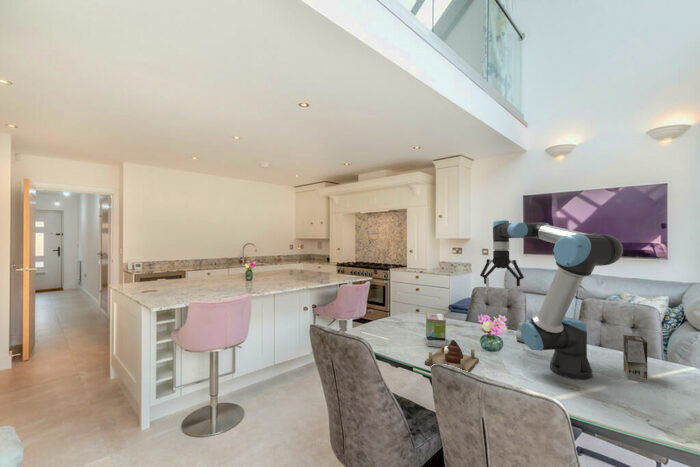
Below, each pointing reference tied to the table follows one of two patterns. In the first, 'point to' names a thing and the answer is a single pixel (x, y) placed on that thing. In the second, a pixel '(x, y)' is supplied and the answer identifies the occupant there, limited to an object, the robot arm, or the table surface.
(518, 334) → the air freshener
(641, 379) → the coffee box
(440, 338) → the tea box
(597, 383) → the table surface
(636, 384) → the table surface
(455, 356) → the poop emoji
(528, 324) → the robot arm
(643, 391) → the table surface
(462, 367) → the stand
